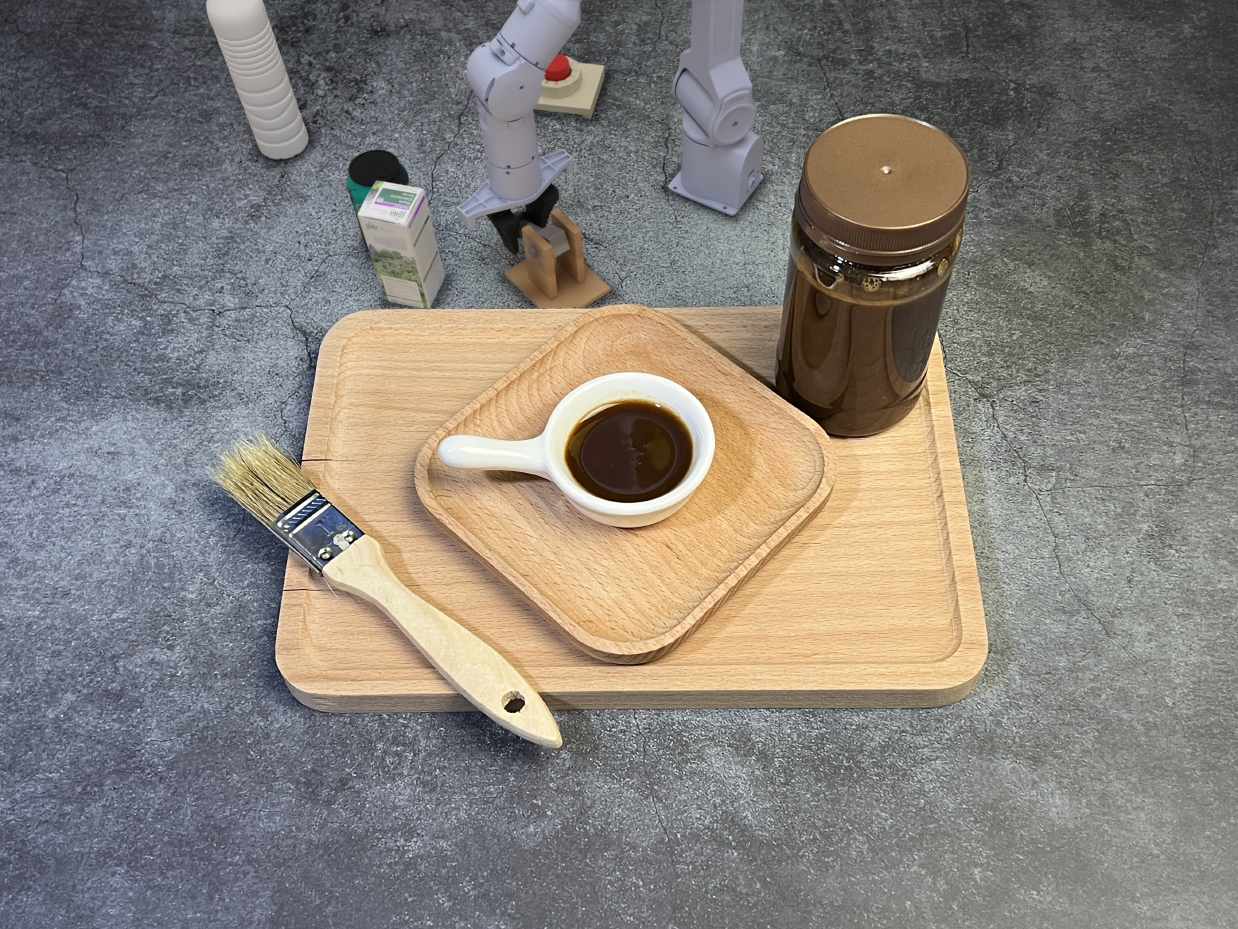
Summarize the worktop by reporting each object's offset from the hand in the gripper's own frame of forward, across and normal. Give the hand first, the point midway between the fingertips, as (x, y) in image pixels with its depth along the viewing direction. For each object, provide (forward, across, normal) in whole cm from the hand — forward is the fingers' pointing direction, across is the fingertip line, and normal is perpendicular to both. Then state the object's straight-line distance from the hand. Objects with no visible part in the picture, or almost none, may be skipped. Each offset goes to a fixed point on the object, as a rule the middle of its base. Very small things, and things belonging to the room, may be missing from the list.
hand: (524, 241), depth 129 cm
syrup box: (+3, +13, -4) cm, 14 cm away
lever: (-2, 0, +4) cm, 4 cm away
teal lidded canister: (+3, +11, -12) cm, 17 cm away
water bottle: (+3, +12, -37) cm, 39 cm away
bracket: (+2, 0, +6) cm, 7 cm away
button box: (+2, -21, -22) cm, 30 cm away
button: (-1, -21, -21) cm, 30 cm away
